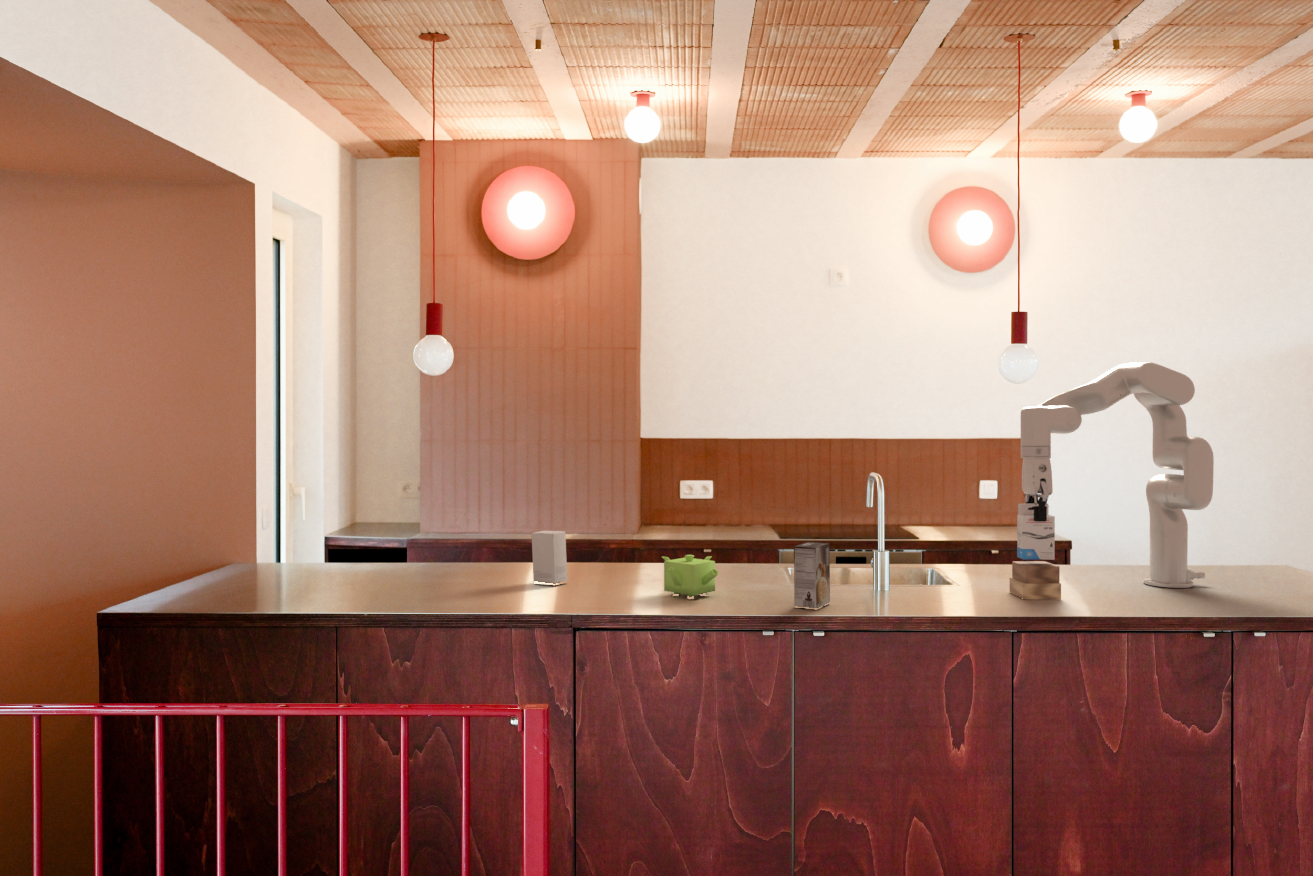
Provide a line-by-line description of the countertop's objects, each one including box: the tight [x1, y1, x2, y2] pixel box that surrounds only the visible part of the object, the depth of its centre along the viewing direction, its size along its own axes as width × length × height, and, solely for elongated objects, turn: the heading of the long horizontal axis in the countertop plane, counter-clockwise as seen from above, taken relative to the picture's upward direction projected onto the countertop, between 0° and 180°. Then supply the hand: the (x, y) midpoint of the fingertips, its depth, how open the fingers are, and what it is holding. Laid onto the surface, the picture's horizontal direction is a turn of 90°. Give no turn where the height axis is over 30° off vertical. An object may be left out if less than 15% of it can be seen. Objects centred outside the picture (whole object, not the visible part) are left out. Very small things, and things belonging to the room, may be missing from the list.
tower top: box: [1011, 560, 1060, 584], centre depth 254 cm, size 9×9×4 cm
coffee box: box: [793, 541, 831, 608], centre depth 242 cm, size 9×6×16 cm
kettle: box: [661, 554, 719, 597], centre depth 258 cm, size 15×14×11 cm
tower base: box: [1009, 576, 1062, 600], centre depth 254 cm, size 10×10×4 cm
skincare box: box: [531, 530, 568, 584], centre depth 277 cm, size 8×7×16 cm
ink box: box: [1016, 503, 1056, 561], centre depth 254 cm, size 9×5×15 cm, turn 85°
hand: (1035, 519), depth 254 cm, fingers open, 5 cm apart
